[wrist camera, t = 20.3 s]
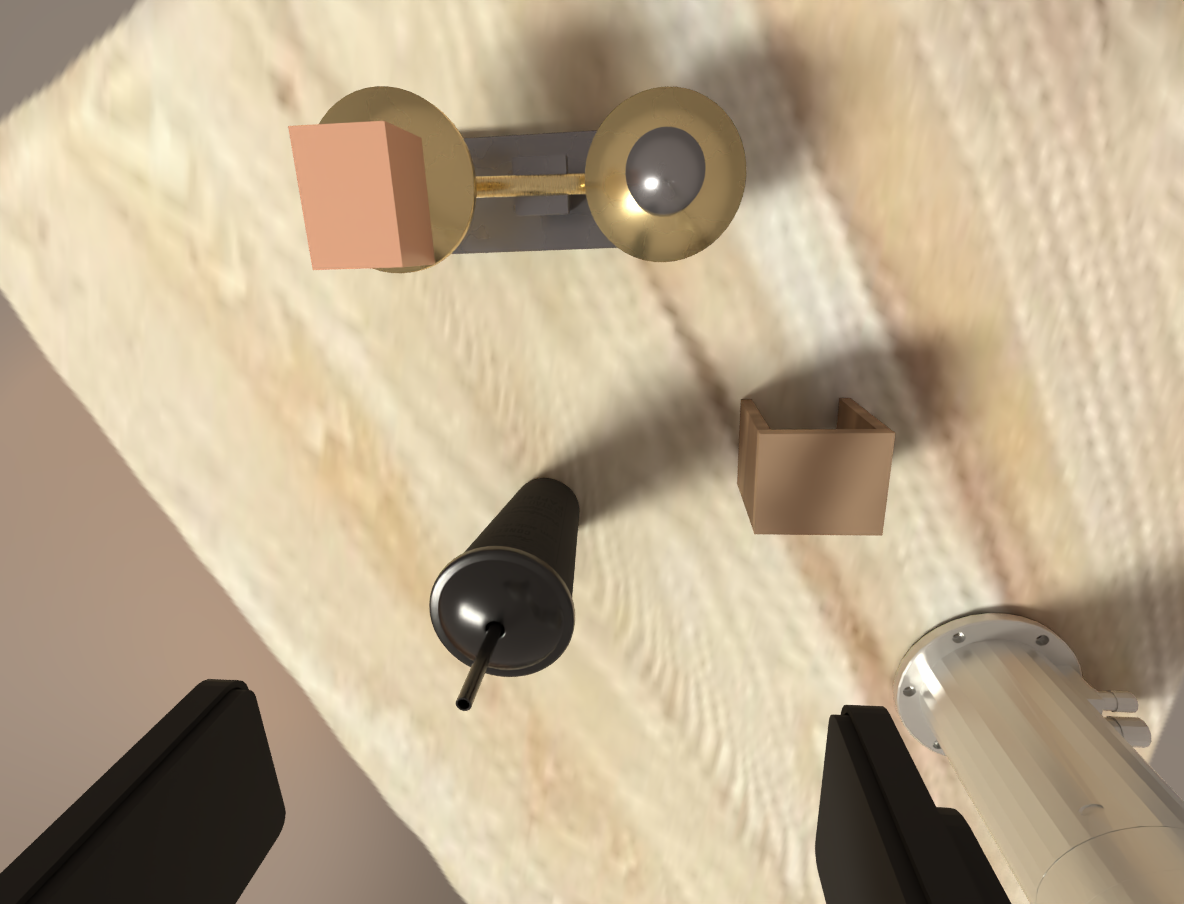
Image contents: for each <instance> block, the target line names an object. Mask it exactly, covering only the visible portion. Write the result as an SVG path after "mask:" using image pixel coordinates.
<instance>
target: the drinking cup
mask: <svg viewBox="0 0 1184 904" xmlns="http://www.w3.org/2000/svg"><path fill="white" fill-rule="evenodd" d="M578 521H579V504H578V501H577V498H576V496H575V495H574V493H573V492H572V491H571V489H570V488H568V487H567V486H566V485H565V484H563V483H561V482H559V481H557V480H554V479H549V478H540V479H535V480H532V481H530V482H528V483H526V484H525V485H524V486H523V487H522V488H521V489H520V490H519V491H518V492H517V493H516V494H515V495H514V497H513V498H512V499H511V500H510V501H509V502H508V503H507V505H506V506H505V507H504V508H503V509H502V510H501V511H500V512H499V514H498V515H497V516H496V517H495V518H494V519H493V520H492V522H491V523H490V524H489V525H488V526H487V527H486V528H485V530H484V531H483V532H482V533H481V534H480V535H479V536H478V537H477V539H476V540H475V541H474V542H473V543H472V544H471V545H470V547H469V548H468V549H467V550H466V551H465V552H464V553H463V554H461V555H459V556H458V557H456V558H454V559H453V560H452V561H451V562H449V563H448V564H447V565H446V566H445V568H444V569H443V570H442V571H441V573H440V574H439V576H438V577H437V579H436V581H435V583H434V585H433V588H432V591H431V595H430V603H429V606H430V616H431V621H432V624H433V627H434V630H435V632H436V634H437V636H438V637H439V639H440V641H441V642H442V643H443V645H444V646H445V647H446V648H447V650H448V651H449V652H450V653H451V654H452V655H453V656H455V657H456V658H457V659H458V660H460V661H461V662H463V663H464V664H466V665H468V666H469V667H471V669H470V671H469V673H468V676H467V678H466V680H465V682H464V685H463V687H462V689H461V692H460V694H459V696H458V698H457V701H456V706H457V707H458V708H459V709H460V710H462V711H467V710H469V709H470V708H471V707H472V704H473V702H474V699H475V697H476V694H477V692H478V689H479V687H480V684H481V682H482V679H483V677H484V674H485V673H487V674H490V675H495V676H502V677H518V676H525V675H529V674H532V673H536V672H538V671H540V670H543V669H544V668H546V667H548V666H549V665H551V664H552V663H553V662H555V661H556V660H557V659H558V658H559V657H560V656H561V655H562V654H563V652H564V651H565V650H566V648H567V646H568V645H569V643H570V640H571V638H572V634H573V631H574V625H575V608H574V603H573V600H572V593H573V581H574V569H575V557H576V545H577V533H578Z"/></svg>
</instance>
